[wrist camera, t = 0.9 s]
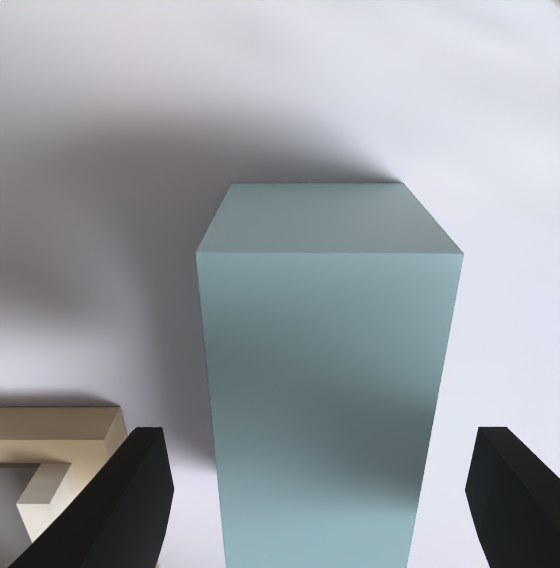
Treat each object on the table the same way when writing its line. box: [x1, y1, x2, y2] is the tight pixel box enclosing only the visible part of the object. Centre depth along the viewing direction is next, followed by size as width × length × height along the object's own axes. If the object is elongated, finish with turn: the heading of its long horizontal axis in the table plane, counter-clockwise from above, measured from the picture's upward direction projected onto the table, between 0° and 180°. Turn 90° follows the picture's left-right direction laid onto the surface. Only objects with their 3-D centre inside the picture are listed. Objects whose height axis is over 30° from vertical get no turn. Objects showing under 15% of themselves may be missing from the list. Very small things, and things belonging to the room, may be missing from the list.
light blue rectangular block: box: [195, 183, 464, 568], centre depth 12 cm, size 11×4×5 cm, turn 0°
